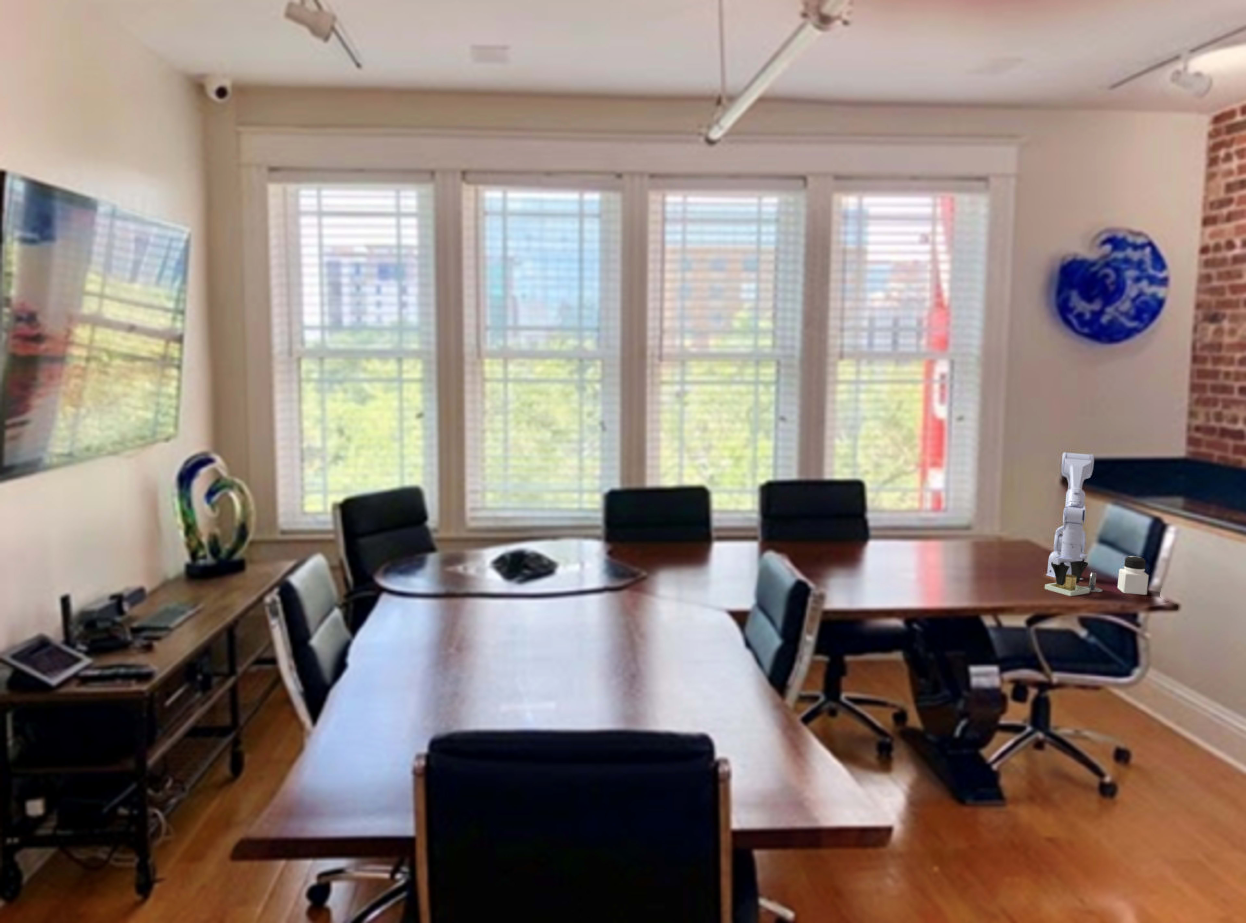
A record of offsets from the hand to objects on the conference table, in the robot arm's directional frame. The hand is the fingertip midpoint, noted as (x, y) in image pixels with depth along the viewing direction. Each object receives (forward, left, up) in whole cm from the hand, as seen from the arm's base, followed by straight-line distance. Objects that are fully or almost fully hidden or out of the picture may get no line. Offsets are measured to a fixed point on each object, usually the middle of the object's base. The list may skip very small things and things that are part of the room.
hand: (1067, 583), depth 317 cm
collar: (0, 0, -2) cm, 2 cm away
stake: (+2, +10, -3) cm, 11 cm away
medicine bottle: (+9, +21, -3) cm, 23 cm away
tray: (0, 0, -3) cm, 3 cm away
